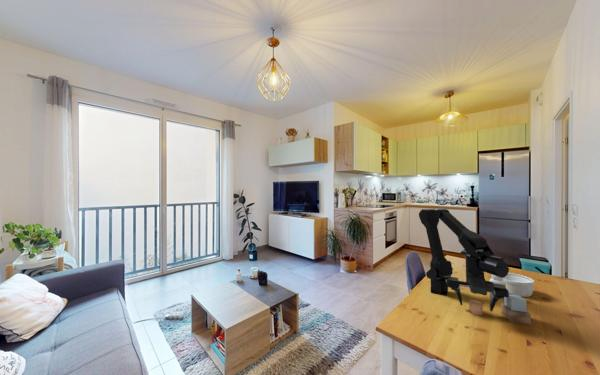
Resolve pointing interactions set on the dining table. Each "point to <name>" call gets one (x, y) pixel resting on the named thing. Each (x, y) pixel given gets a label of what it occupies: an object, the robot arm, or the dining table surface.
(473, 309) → the terracotta dowel
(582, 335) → the dining table surface
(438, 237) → the robot arm
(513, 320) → the walnut base block
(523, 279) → the ramekin
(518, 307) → the slate block
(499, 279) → the supplement bottle
